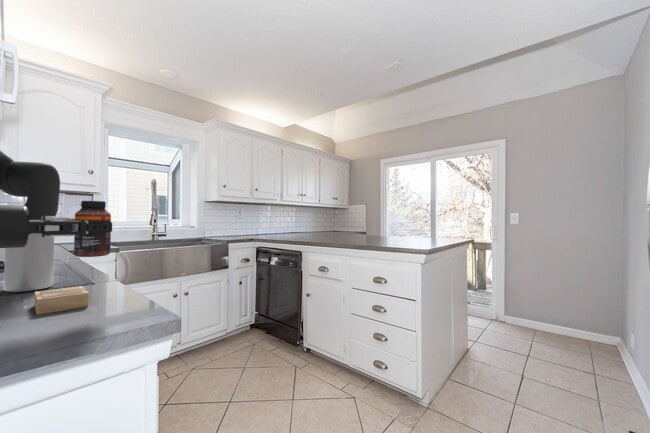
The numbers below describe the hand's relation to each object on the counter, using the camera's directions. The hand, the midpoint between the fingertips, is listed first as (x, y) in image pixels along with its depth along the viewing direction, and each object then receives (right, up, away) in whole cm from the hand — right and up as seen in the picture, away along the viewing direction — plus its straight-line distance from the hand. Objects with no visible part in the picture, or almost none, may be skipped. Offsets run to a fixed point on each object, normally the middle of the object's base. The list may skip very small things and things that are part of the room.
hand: (107, 226), depth 63 cm
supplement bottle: (-2, -6, -2) cm, 7 cm away
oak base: (-11, -17, +1) cm, 21 cm away
